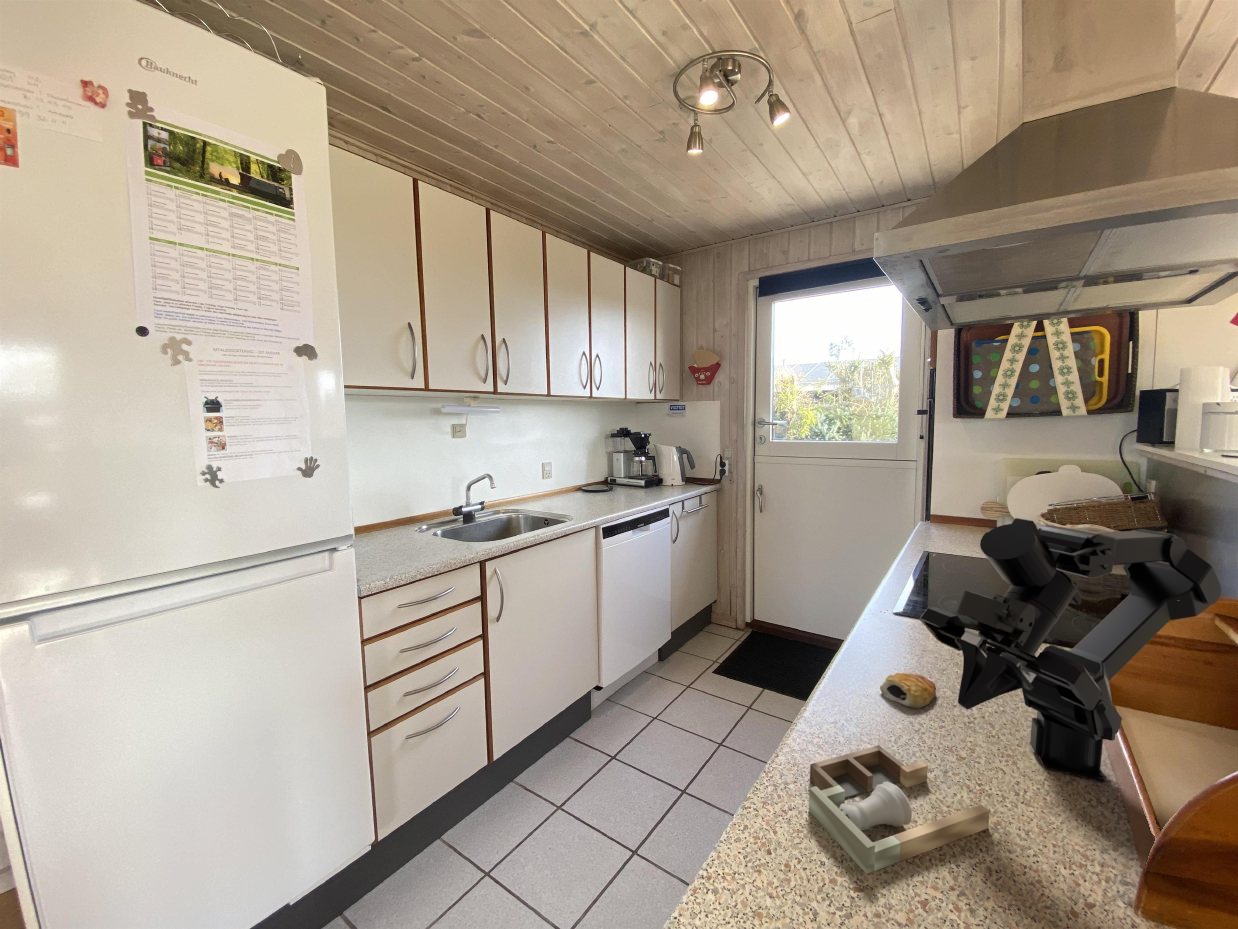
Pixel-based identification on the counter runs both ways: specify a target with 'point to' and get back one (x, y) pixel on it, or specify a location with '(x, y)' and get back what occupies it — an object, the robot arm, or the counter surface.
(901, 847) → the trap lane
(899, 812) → the rook chess piece
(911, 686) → the pastry
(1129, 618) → the robot arm
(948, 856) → the counter surface
